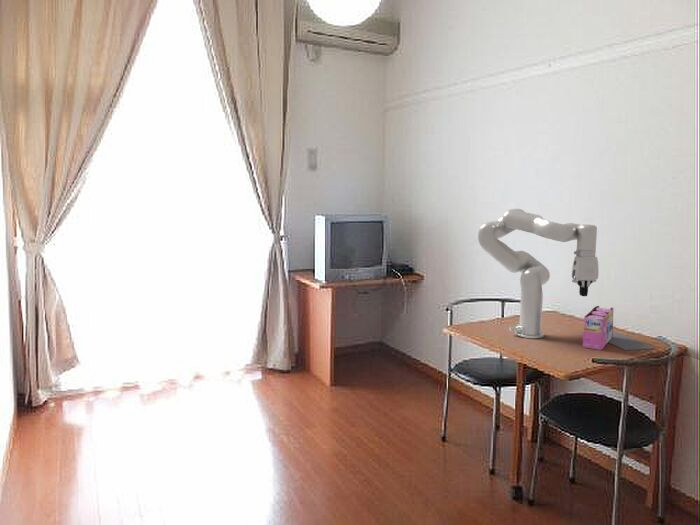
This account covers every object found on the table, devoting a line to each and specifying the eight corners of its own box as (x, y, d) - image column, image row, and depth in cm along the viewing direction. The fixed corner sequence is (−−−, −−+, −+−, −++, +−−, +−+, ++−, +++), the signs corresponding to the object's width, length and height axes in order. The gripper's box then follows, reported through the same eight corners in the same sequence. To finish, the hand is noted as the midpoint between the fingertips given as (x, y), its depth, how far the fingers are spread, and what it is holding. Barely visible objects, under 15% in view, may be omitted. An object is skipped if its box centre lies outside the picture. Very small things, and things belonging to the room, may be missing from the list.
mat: (625, 350, 231) (625, 349, 231) (591, 334, 254) (591, 333, 254) (654, 348, 233) (654, 347, 233) (618, 333, 256) (618, 332, 256)
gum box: (595, 333, 254) (596, 305, 252) (613, 336, 249) (615, 307, 247) (582, 347, 235) (583, 316, 233) (601, 350, 230) (603, 319, 228)
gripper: (574, 255, 229) (572, 298, 232) (607, 254, 231) (604, 296, 234) (564, 253, 236) (562, 294, 239) (596, 252, 239) (593, 293, 241)
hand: (583, 295), depth 236 cm, fingers closed
